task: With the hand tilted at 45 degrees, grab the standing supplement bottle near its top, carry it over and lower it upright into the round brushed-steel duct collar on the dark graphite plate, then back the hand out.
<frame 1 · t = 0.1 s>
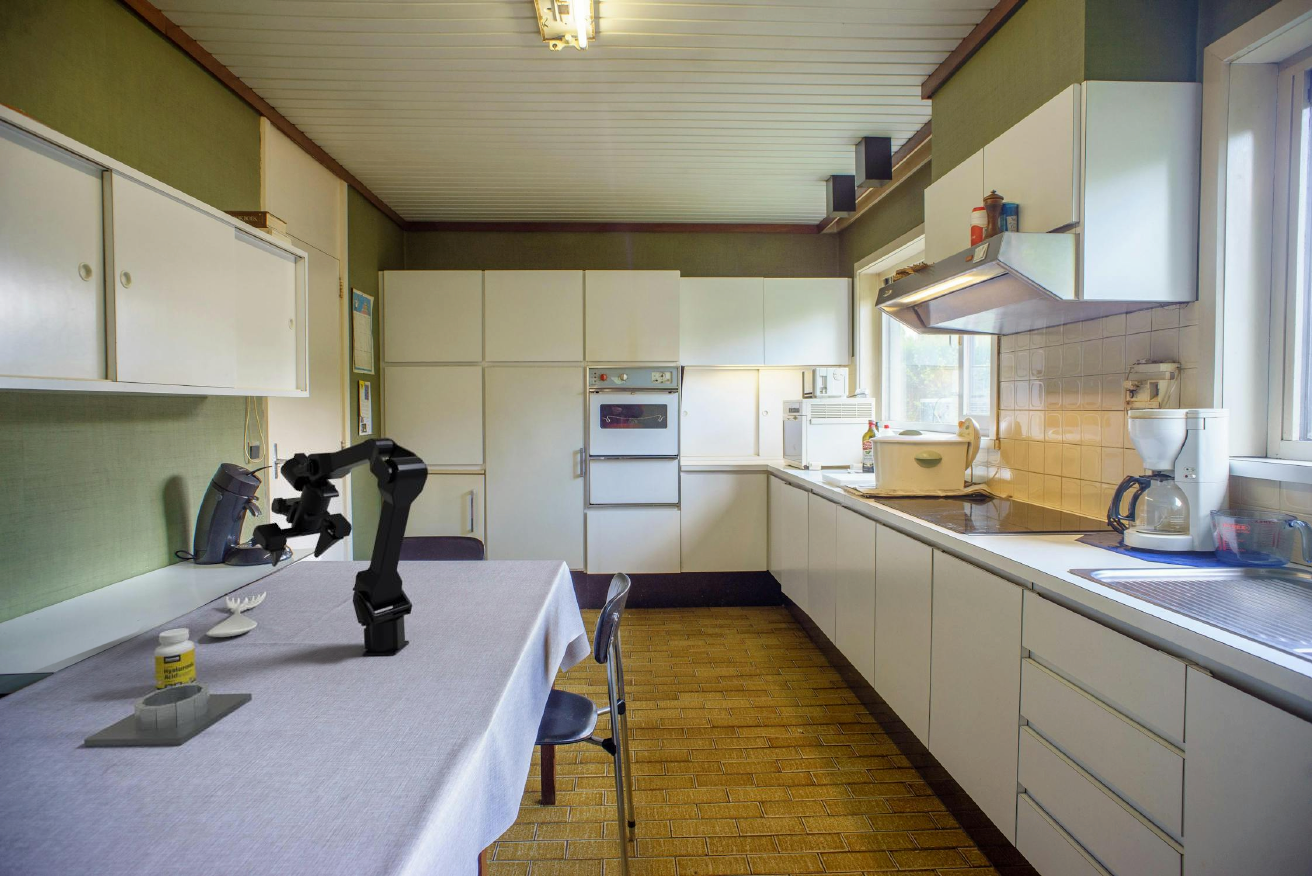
hand: (295, 561, 134), 15 cm above the table, tool tilted 35°, fingers open, 9 cm apart
duct collar: (174, 721, 92), on the table
supplement bottle: (176, 689, 104), on the table
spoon: (239, 623, 141), on the table
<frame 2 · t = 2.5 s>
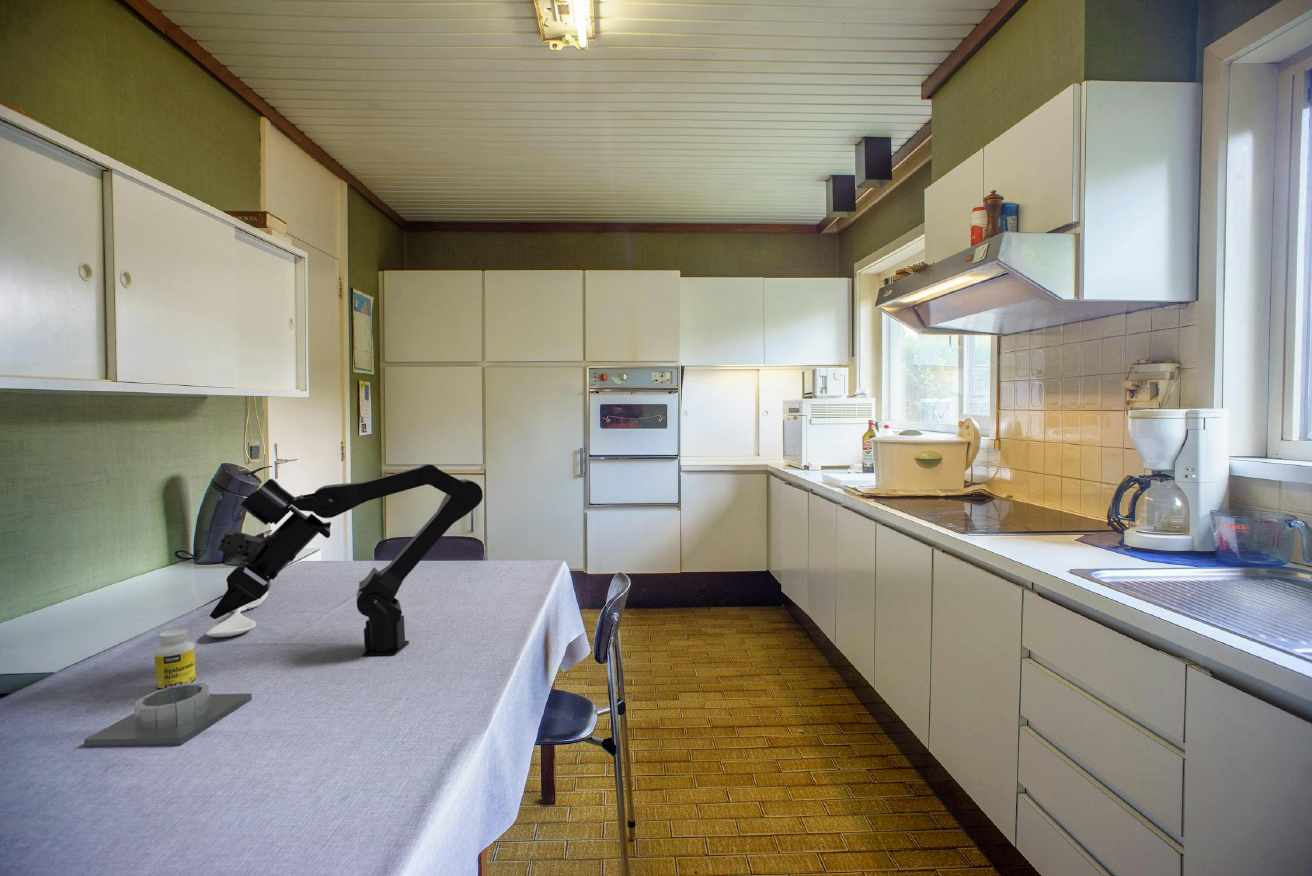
hand: (217, 610, 106), 12 cm above the table, tool tilted 45°, fingers open, 9 cm apart
nothing on the table moved.
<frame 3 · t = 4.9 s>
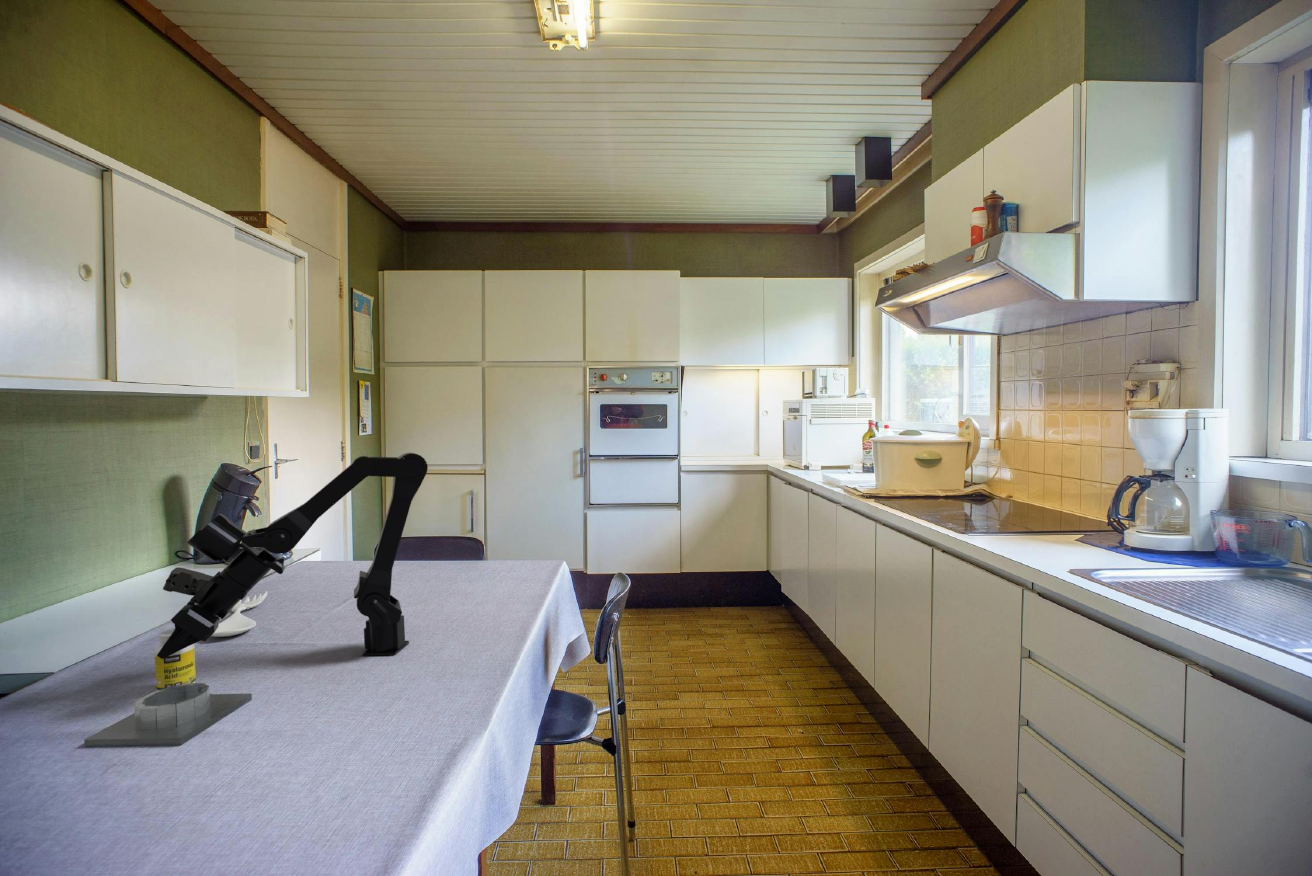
hand: (164, 651, 103), 7 cm above the table, tool tilted 45°, fingers closed on supplement bottle, 5 cm apart
supplement bottle: (176, 689, 104), on the table, touching gripper
everything else where it was.
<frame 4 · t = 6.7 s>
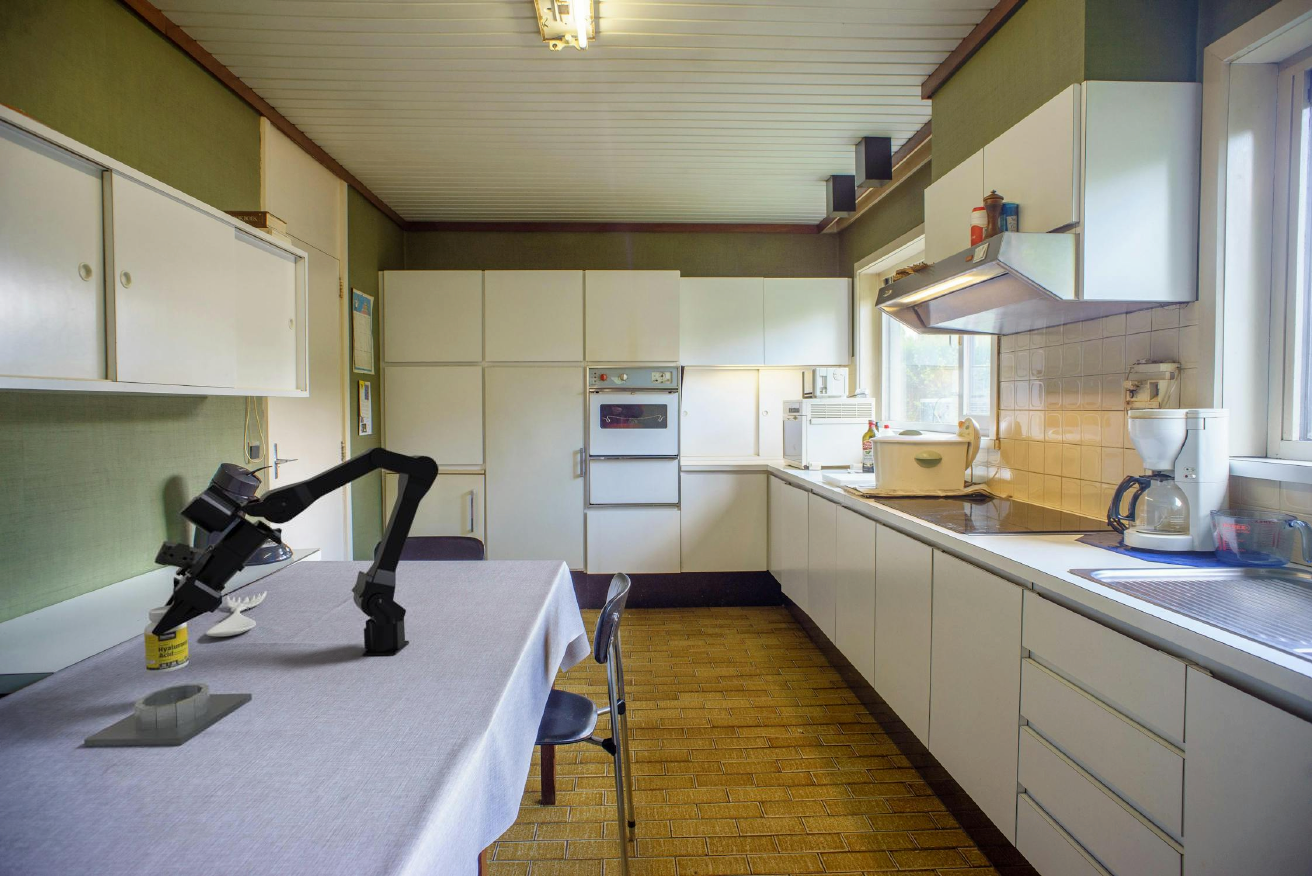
hand: (154, 630, 97), 12 cm above the table, tool tilted 45°, fingers closed on supplement bottle, 5 cm apart
supplement bottle: (168, 669, 98), point 5 cm above the table, touching gripper
everything else where it was.
when the fingers open (9 cm above the table, at t = 8.6 s): supplement bottle drops 1 cm, resting on duct collar.
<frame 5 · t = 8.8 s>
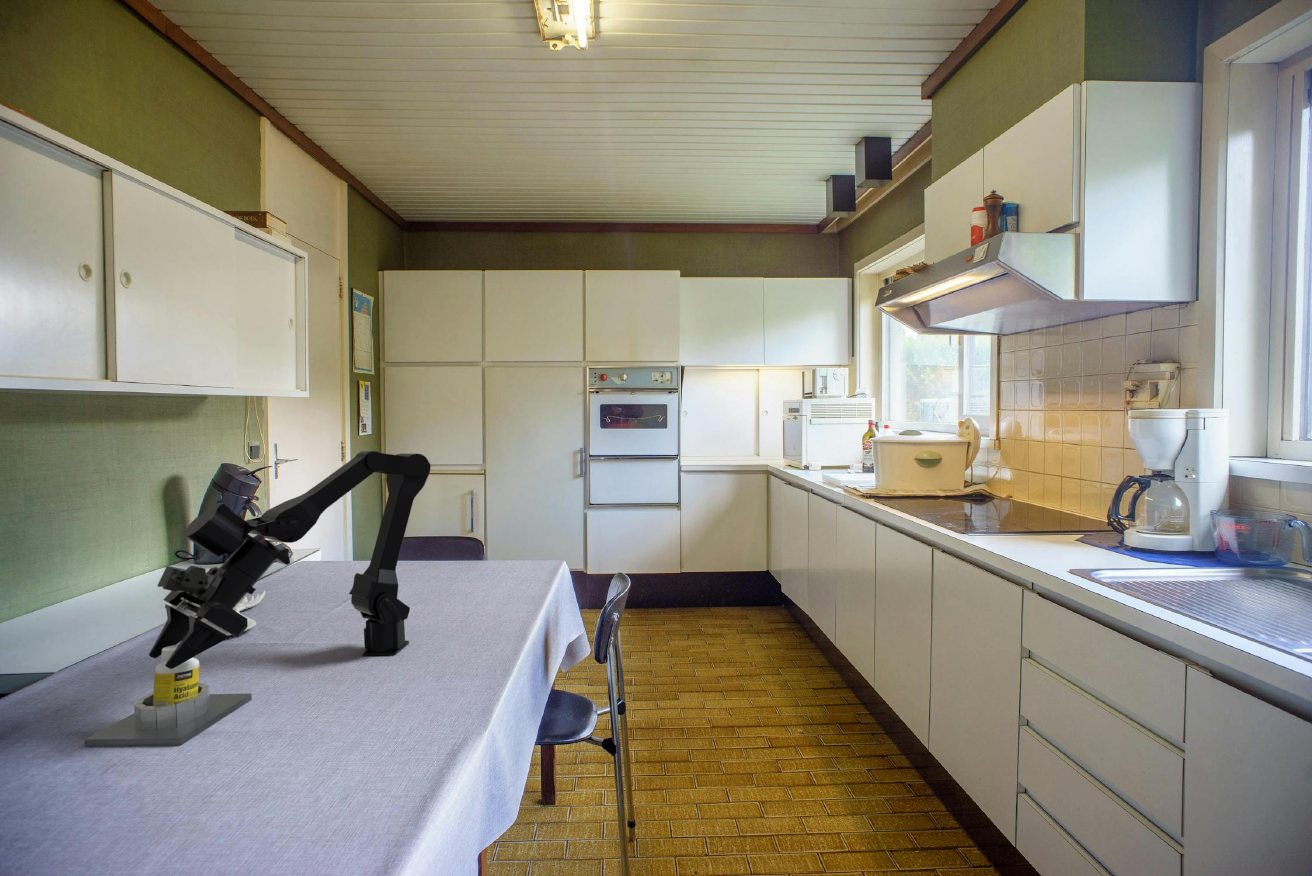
hand: (159, 662, 90), 10 cm above the table, tool tilted 45°, fingers open, 7 cm apart
supplement bottle: (175, 713, 92), point 1 cm above the table, touching duct collar
everything else where it was.
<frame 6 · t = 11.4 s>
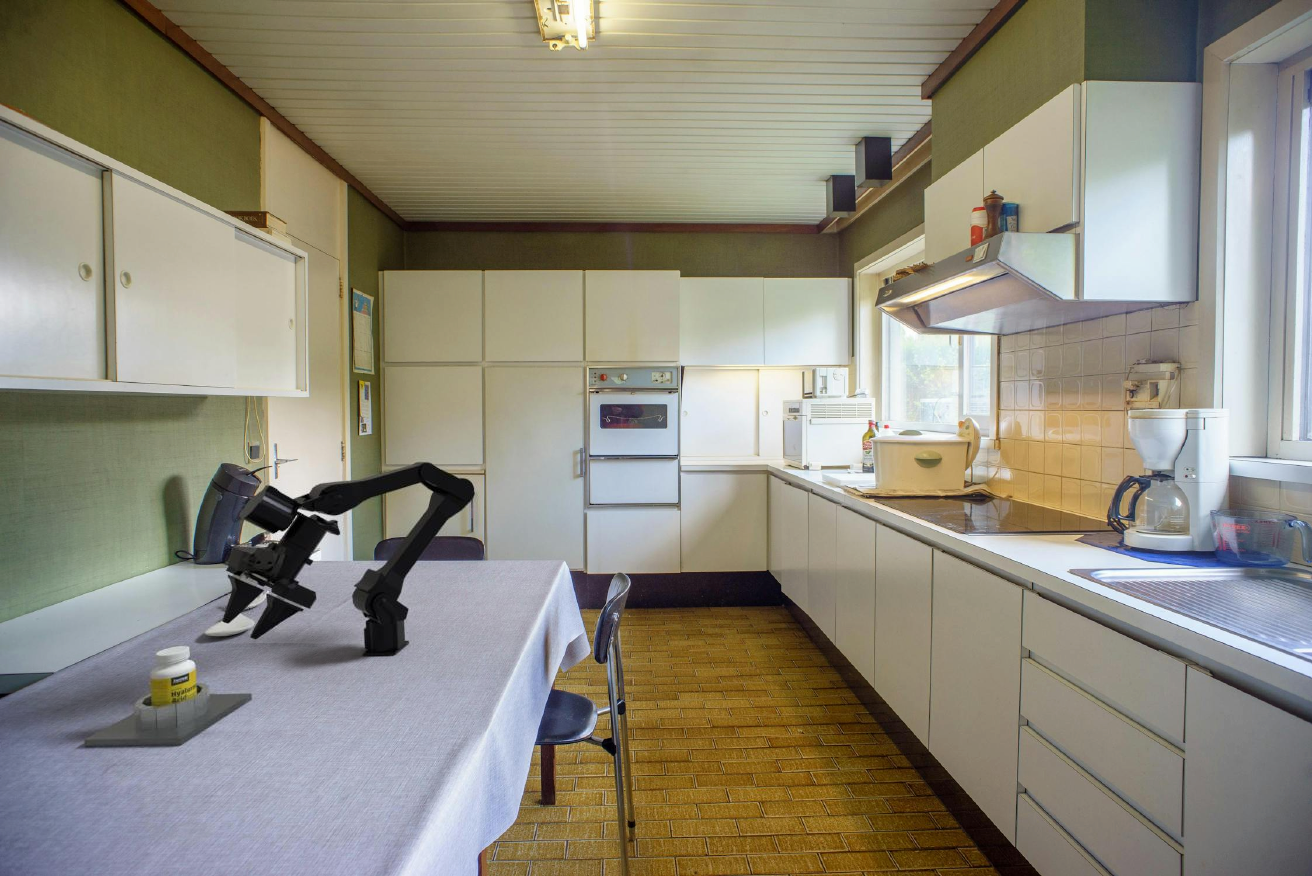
hand: (238, 630, 101), 11 cm above the table, tool tilted 35°, fingers open, 9 cm apart
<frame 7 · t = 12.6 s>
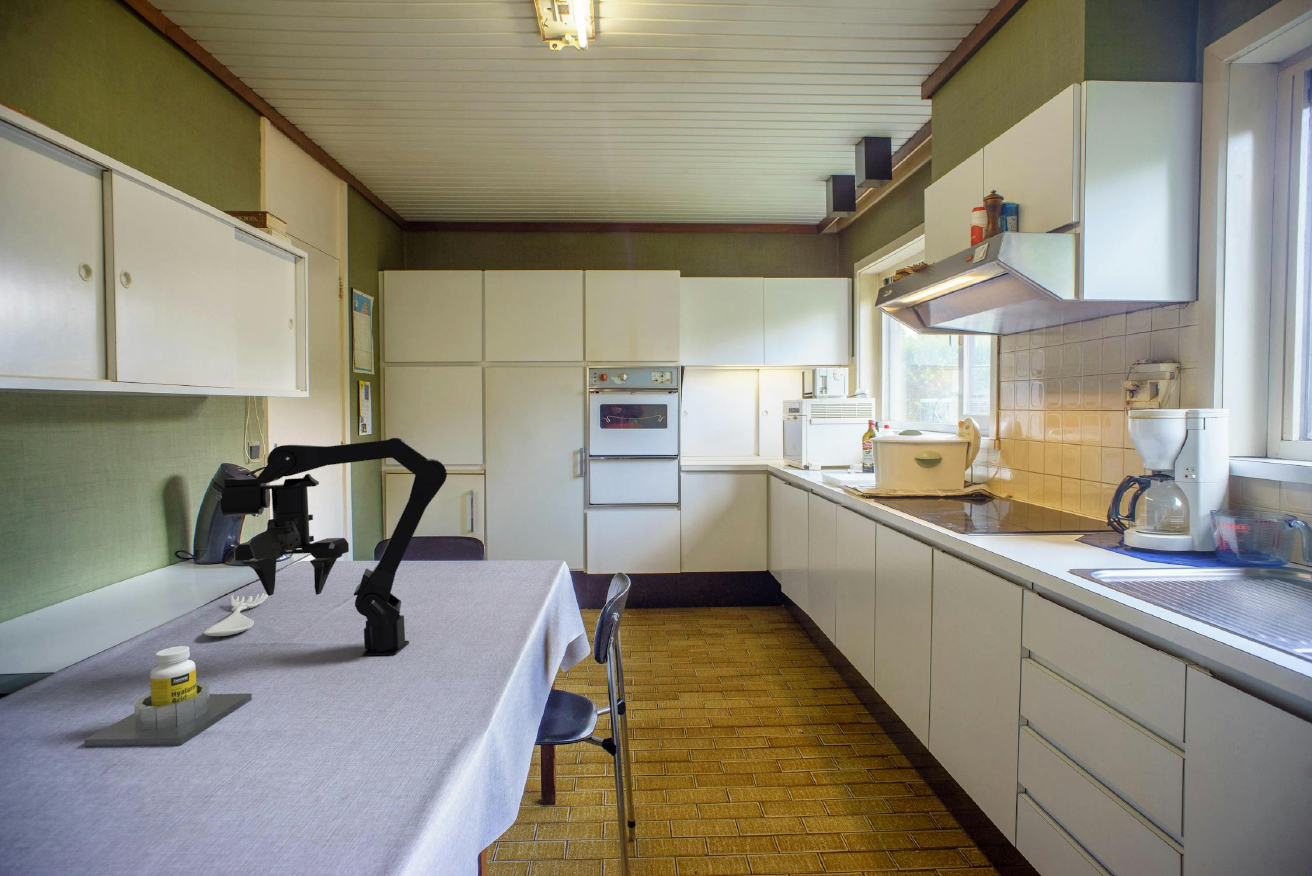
hand: (294, 594, 113), 13 cm above the table, tool pointing down, fingers open, 9 cm apart
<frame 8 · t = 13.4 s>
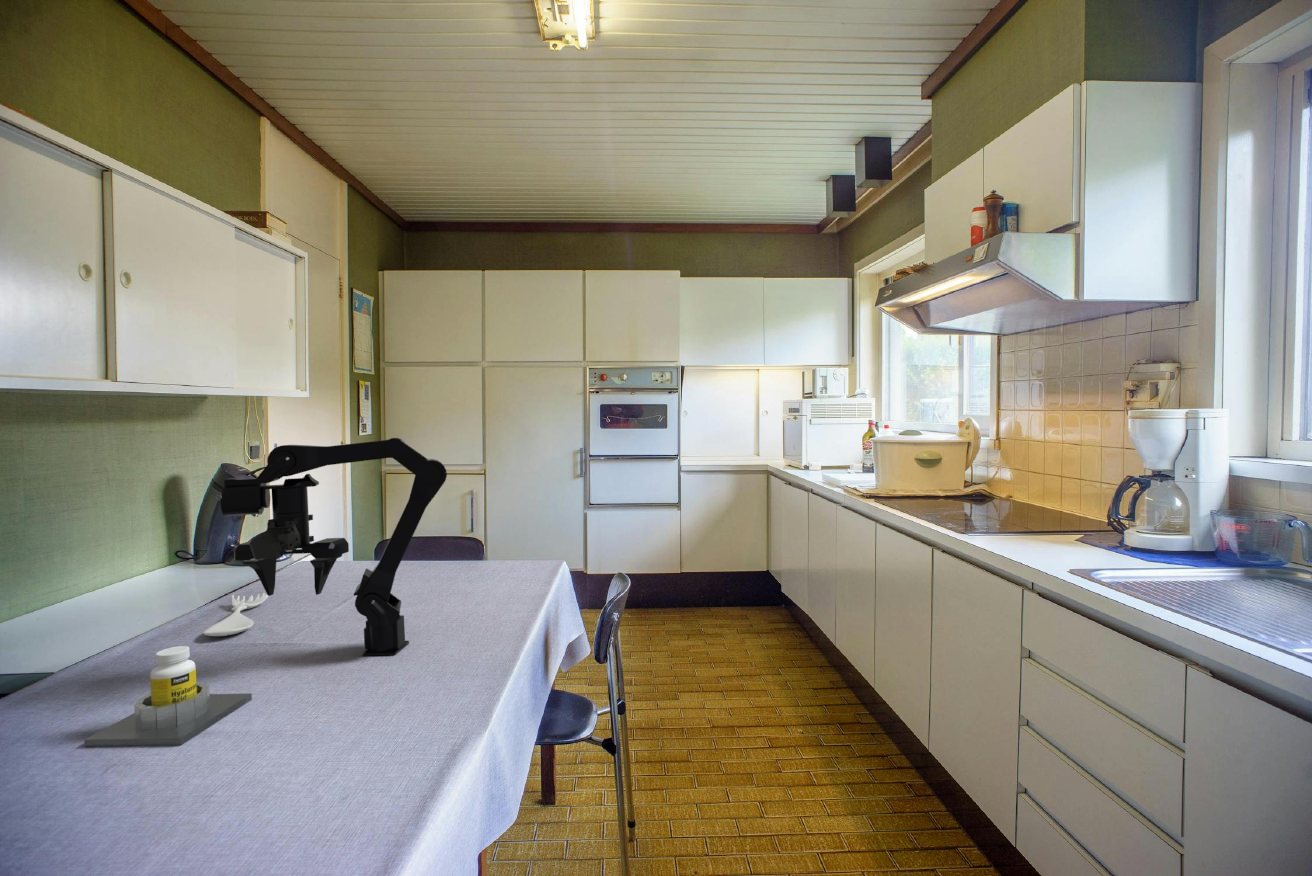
hand: (294, 594, 113), 13 cm above the table, tool pointing down, fingers open, 9 cm apart
at the end: supplement bottle 0.2 cm off-centre on the duct collar, point 0.8 cm above the duct collar's base; supplement bottle tilted 0°; the gripper is holding nothing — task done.
